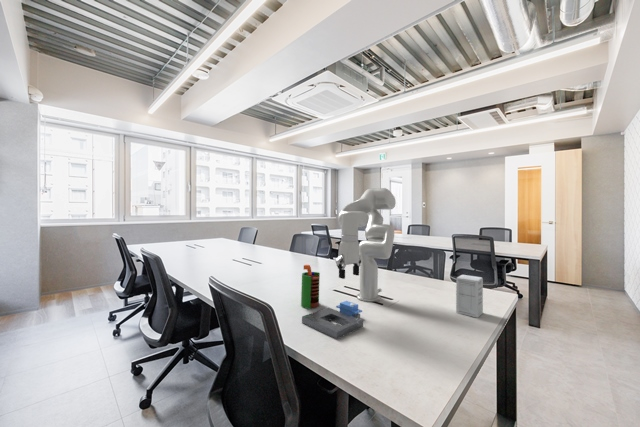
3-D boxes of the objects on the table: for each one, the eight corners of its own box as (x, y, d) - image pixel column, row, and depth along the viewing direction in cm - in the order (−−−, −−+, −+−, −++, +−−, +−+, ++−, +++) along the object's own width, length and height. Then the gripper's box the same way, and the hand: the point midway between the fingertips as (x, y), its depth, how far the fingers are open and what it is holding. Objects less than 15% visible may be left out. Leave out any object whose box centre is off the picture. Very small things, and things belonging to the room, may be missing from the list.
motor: (316, 309, 132) (317, 267, 132) (298, 307, 134) (299, 266, 134) (320, 302, 142) (321, 263, 142) (304, 301, 144) (304, 263, 144)
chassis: (328, 313, 127) (328, 307, 127) (363, 326, 113) (363, 320, 113) (301, 322, 116) (302, 316, 116) (336, 339, 102) (336, 331, 102)
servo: (342, 311, 131) (342, 298, 131) (362, 318, 122) (362, 305, 122) (336, 313, 128) (336, 301, 128) (355, 320, 119) (355, 307, 119)
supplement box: (483, 312, 130) (483, 277, 130) (478, 318, 123) (478, 280, 123) (461, 307, 137) (461, 274, 137) (455, 312, 130) (455, 277, 130)
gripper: (355, 237, 133) (354, 272, 133) (330, 239, 121) (329, 278, 121) (368, 238, 128) (367, 275, 128) (343, 240, 116) (342, 281, 116)
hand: (349, 276), depth 125 cm, fingers open, 9 cm apart
